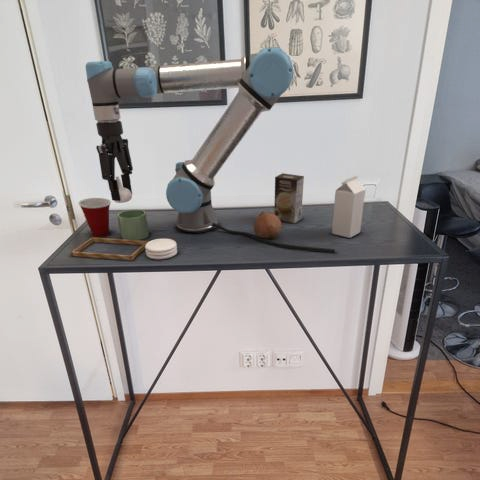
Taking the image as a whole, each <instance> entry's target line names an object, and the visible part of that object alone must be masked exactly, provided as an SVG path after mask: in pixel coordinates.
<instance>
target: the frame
mask: <svg viewBox="0 0 480 480" xmlns="http://www.w3.org/2000/svg"><path fill="white" fill-rule="evenodd" d="M148 242H149V240H124V239H122V238H108V237H107V238H106V237H91V238H89V239H88V240H87V241H85V242H84V243H82V244H81V245H79V246H77V247H76V248H74V249H73V250H72V251H70V255H71V256H72V257H78V258H79V257H80V258H93V259H108V260H119V261H133V260H134V259H135V258H137V256H139V255H140V254H141V253H142V252H143V251H145V250H146V249H145V245H146V244H147V243H148ZM93 243H105V244H120V245H133V246H134V245H135V246H139V247H138V248H137V249H136V250H135V251H134V252H132V253H131V254H130V255H128V254H126V255H125V254H113V253H100V252H99V253H98V252H85V251H83V250H85V249H86V248H88V247H89V246H90V245H92V244H93Z"/></svg>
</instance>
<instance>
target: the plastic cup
mask: <svg viewBox="0 0 480 480" xmlns="http://www.w3.org/2000/svg"><path fill="white" fill-rule="evenodd" d="M111 201H112V200H111V199H108V198H104V197H89V198H84V199H82V200H79V201H78V205H79V207H80V208H81V211H82V213H83V215H84V217H85V221H86V223H87V225H88V228H89V230H90V232H91V234H92V236H93V237H95V238H102V237H105V236H108V235H109V233H110V206H111V203H112V202H111Z"/></svg>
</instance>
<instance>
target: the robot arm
mask: <svg viewBox="0 0 480 480" xmlns="http://www.w3.org/2000/svg"><path fill="white" fill-rule="evenodd" d="M290 57H291V56H289V54H287V52H286V51H284V50H283V49H282V48H281V47H277V46H267V47H264V48H262V49H260V50H259V51H258V52H255V53H249V54H244V55H243V56H242V58H238V59H225V60H214V61H213V60H212V61H203V62H190V63H178V64H165V65H155V66H140V67H127V68H126V67H125V68H114V66H113V64H112V62H111V61H109V60H101V61H87V62H86V64H85V73H86V82H87V85H88V90H89V94H90V100H91V105H92V111H93V116H94V120H95V122H96V124H95V125H96V130H97V134H98V135H99V137H101V144H100V145H96V147H95V148H96V151H97V154H98V160H99V165H100V166H99V167H100V173H101V179H102V180H104V181H107V184H108V188H109V191H110V196H111V201H114V202H115V201H120V194H119V189H118V184H117V180H116V160H117V163H118V166H119V168H120V171H121V173H122V174H120V178H121V179H120V180H121V183H122V185H123V187H124V188H127V189H128V190H130V192H131V193H132V194H133V191H132V183H131V176H130V175H132V174H133V169H134V167H133V162H132V157H131V154H130V153H131V152H130V148H129V140H128V138H122V135H123V134H124V128H123V122H122V121H121V112H120V106H119V99H139V98H141V99H147V98H153V97H155V96H156V95H159V94H160V95H161V94H171V93H186V92H199V91H200V92H201V91H212V90H223V89H224V90H227V89H238V92H237V93H236V94H235V96H234V98H233V99H232V100H231V102H230V103H229V105H228V106H227V108H226V109H225V111H224V112H223V114H222V115H221V116H220V117H219V120H218V121H217V122H216V124H215V126H214V127H213V128H212V130H211V131H210V133H209V134H208V135H207V137H206V138H205V140H204V141H203V143H202V144H201V146H200V147H199V149H198V150H197V152H195V155H194V156H193V157H192V159H189V160H184V161H178V162H176V163H175V169H174V170H175V175H174V176H173V178H172V179H171V180H170V181H169V182H168V184H167V186H166V190H165V196H166V200H167V202H168V204H169V206H170V207H171V208H172V209H173V210H175V211H176V212H177V217H176V223H175V224H176V229H177V230H178V231H180V232H183V233H186V234H187V233H188V234H200V233H208V232H211V231H213V230H216V229H217V228H218V229H220V230H222V231H223V232H226V233H228V234H234V235H235V234H236V235H241V236H242V235H243V236H247V237H250V238H252V239H255V240H257V241H260V242H263V243H267V244H270V245H274V246H278V247H283V248H288V249H297V250H306V251H316V252H328V253H329V252H330V253H335V252H336V249H335V248H327V247H326V248H325V247H315V246H306V245H305V246H304V245H295V244H288V243H282V242H279V241H273V240H266V239H263V238H260V237H259V236H257V235H256V234H253V233H250V232H245V231H240V230H239V231H238V230H231V229H227V228H225V227H224V226H222V225H220V224H219V222H218V216H217V215H216V211H215V210H214V207H213V204H212V189H213V188H214V187H215V186H216V181H215V177H216V176H217V174H218V173H219V172H220V170H221V169H222V167H223V166H224V164H225V163H226V162H227V160H228V159H229V158H230V156H231V155H232V154H233V152H235V150H236V148H237V147H238V146H239V144H240V143H241V142H242V140H243V139H244V137H245V136H246V134H247V133H248V132H249V130H250V129H251V128H252V126H253V125H254V124H255V122H256V121H257V119H258V118H259V117H260V115H262V113H263V112H264V113H265V112H270V111H271V110H272V108H273V107H274V105H275V104H276V103H277V101H278V100H279V98H280V97H281V96H282V95H283V94H284V93H286V91H287V90H288V88H289V87H290V86H291V83H292V80H293V78H294V66H293V62H292V60H291V58H290Z"/></svg>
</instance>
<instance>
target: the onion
mask: <svg viewBox="0 0 480 480" xmlns="http://www.w3.org/2000/svg"><path fill="white" fill-rule="evenodd" d="M282 229H283V227H282V221H280V219H279V218H278V217H277V216H276V215H275V214H274V213H268V212H267V211H261V212H260V213H259V214H258V216H257V217H256V218H255V220H254V223H253V231H254V233H255V235H256V236H258V237H260V238H263V239H266V240H270V241H273V240H274V239H275V238H277V237H278V235H279V234H280V233H281V231H282Z"/></svg>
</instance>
